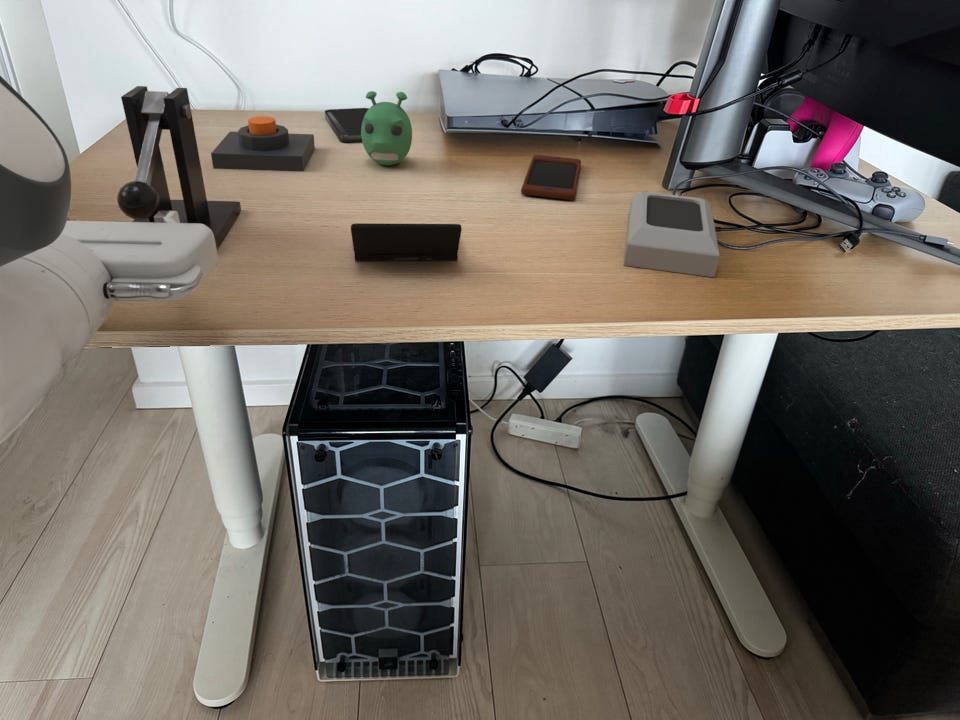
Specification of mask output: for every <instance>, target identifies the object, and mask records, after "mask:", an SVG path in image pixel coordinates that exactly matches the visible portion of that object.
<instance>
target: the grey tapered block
mask: <svg viewBox="0 0 960 720" xmlns="http://www.w3.org/2000/svg"><path fill="white" fill-rule="evenodd" d="M712 209H713V208H712V206H711V204H710V202H709V201H708V200H706V199H705V198H701V197H693V196H685V195H677V194H676V195H675V194H668V193H660V192H651V191H640V192H636V193H635V194H633V195H632V197H631V198H630V205H629V211H628V217H627V230H626V238H625V239H626V240H625V250H624V260H623V266H627V267H628V266H629V267H633V268H640V269H641V268H642V269H649V270H657V271H664V272H672V273H678V274H687V275H692V276H693V275H694V276H701V277H709V278H715V276H716V273H717V268H718V266H719V265H718V264H719V262H720V257H721V255H720V250H719V244H718V239H717V238H718V237H717V231H716V227H715V226H716V225H715V220H714V213H713V210H712Z"/></svg>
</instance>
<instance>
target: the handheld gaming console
mask: <svg viewBox="0 0 960 720" xmlns="http://www.w3.org/2000/svg"><path fill="white" fill-rule="evenodd" d="M462 229H463V228H462V225H461V224H459V223H361V222H360V223H357V222H356V223H352V224H351V225H350V233H351V241H352V247H353V248H352V249H353V252H354V260H355V261H356V262H358V261H360V262H361V261H362V262H364V261H365V262H366V261H367V262H369V261H370V262H371V261H373V262H375V261H376V262H377V261H378V262H379V261H381V262H383V261H384V262H385V261H386V262H388V261H389V262H391V261H397V260H399V261H400V260H401V261H402V260H403V261H405V260H406V261H407V260H408V261H409V260H413V261H414V260H415V261H420V262H421V261H429V262H430V261H431V262H432V261H437V262H439V261H440V262H441V261H442V262H443V261H445V262H446V261H449V262H450V261H458V259H459V255H458V254H459V248H460V241H461V236H462Z"/></svg>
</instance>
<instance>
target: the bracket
mask: <svg viewBox="0 0 960 720" xmlns="http://www.w3.org/2000/svg"><path fill="white" fill-rule="evenodd" d="M146 91H149V90H148V86H146V85H137V86H135V87H134V88H132V89H131V90H129V91H127V92H126V93H125V94H123V95H122V96H120V98H121V102H122V107H123V112H124V115H125V121H126V125H127V129H128V134H129V138H130V142H131V147H132V150H133V155H134V159H135V163H136V169H137V168H138V163H139V159H140V155H141V150H142V146H143V141H144V137H145V133H146V128H147V123H146V121H145V120H144V118H143V116H142V114H141V109H142V105H143V101H144V97H145V92H146ZM164 104H165V109H166V114H167V120H168V125H169V130H168V131H169V134H170V139H171V145H172V149H173V154H174V159H175V160H174V161H175V163H176V170H177V176H178V180H179V186H180V190H181V191H180V192H181V195H182V199H171V197H170V191H169V187H168V182H167V176H166V172H165V167H164V163H163V158H162V153H161V148H160V146H159V147H158V152H157V156H156V161H155V165H154V170H153V175H152V179H151V184H150V186H151V187H153V188H154V190H155V191H156V192H157V194H158V197H159V207H158V210H157V212H156V213H155V214H154V215H153V216H152V217H150V218H148V219H144V220H136V219H132V221H131V222H153V223H155V221H154V216H155V215H156V214H157V213H158V211H177V212H178V215H179V220H180V223H199V224H204V225H206V226H207V227H208V228H210V229H211V230H212V232H213V235H214V238H215V243H216V248H217V250H218V249H219V247H220V246H221V244H222V243H223V241H224V239H225V237H226V236H227V234H228V232H230V230H231V228H232V227H233V225H234V223H235V221H236V220H237V218H238V217H239V215H240V213H241V212H242V206H241V201H236V200H235V201H233V200H231V201H230V200H208V198H207V193H206V188H205V187H206V186H205V182H204V176H203V171H202V164H201V159H200V153H199V148H198V142H197V136H196V132H195V126H194V120H193V114H192V109H191V104H190V97H189V92H188V87H176V88H175V89H174V90H173V91H171V92H170V93H169V95H167V96H166V97H165V98H164Z"/></svg>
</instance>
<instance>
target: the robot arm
mask: <svg viewBox="0 0 960 720" xmlns="http://www.w3.org/2000/svg"><path fill="white" fill-rule="evenodd" d="M71 176H72V175H71V168H70V163H69V159H68V156H67V153H66V151H65V149H64V147H63V145H62V142H61V141H60V140H59V138H58V136H57V134H55V132H54V131H53V129H52V128H51V127H50V125H49V124H48V123H47V122H46V121H45V120H44V118H43V117H42V116H41V115H40V114H39V113H38V112H37V110H36V109H35V108H34V107H33V106H32V105H31V104H30V103H29V102H28V101H27V100H26V99H25V98H24V97H23V96H22V95H21V94H20V93H19V92H18V91H17V90H16V89H14V87H12V85H10V83H9V82H7V80H6V79H4V78H3V77H2V76H1V75H0V445H1V444H2V443H4V442H5V441H6V440H7V439H8V438H9V437H10V436H11V435H12V434H13V433H14V432H16V430H17V429H18V428H20V427H21V425H22V424H23V423H24V422H25V421H26V420H27V419H28V418H30V416H31V415H32V413H33V412H34V411H35V410H36V409H37V408H38V407H39V406H40V404H41V403H42V402H43V401H44V400H45V398H46V397H47V396H48V395H49V393H51V391H52V389H53V388H54V387H55V385H56V384H57V382H58V381H59V378H60V376H61V372H62V369H63V367H64V366H66V365H68V364H69V363H71V362H72V361H74V359H76V358H77V357H78V356H79V355H80V354H81V353H82V351H83V350H84V349H85V347H86V346H87V345H88V344H89V342H90V341H91V340H92V339H93V337H94V336H95V334H96V333H97V332H98V331H99V330H100V328H101V327H102V325H103V324H104V323H105V322H106V320H107V319H108V318H109V316H110V315H111V313H112V311H113V308H114V305H115V302H153V303H154V302H156V303H157V302H161V303H162V302H163V303H164V302H174V301H178V300H181V299H185V298H187V297H188V296H190V295H192V293H194V292H195V291H197V290H198V289H199V288H200V286H202V285H203V284H204V283H205V281H207V279H208V278H209V277H210V276H211V275H212V274H213V272H214V271H215V270H216V269H217V266H218V264H219V258H218V257H219V256H218V249H217V248H216V243H215V238H214V235H213V232H212V230H211V229H210V228H208V227H207V226H206V225H204V224H199V223H180V220H179V215H178V212H177V211H158V213H157V214H156V215H155V216H154V221H155V223H153V222H132V221H106V220H105V221H104V220H103V221H102V220H101V221H100V220H99V221H98V220H70V217H69V211H70V206H71V197H72V177H71Z"/></svg>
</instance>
